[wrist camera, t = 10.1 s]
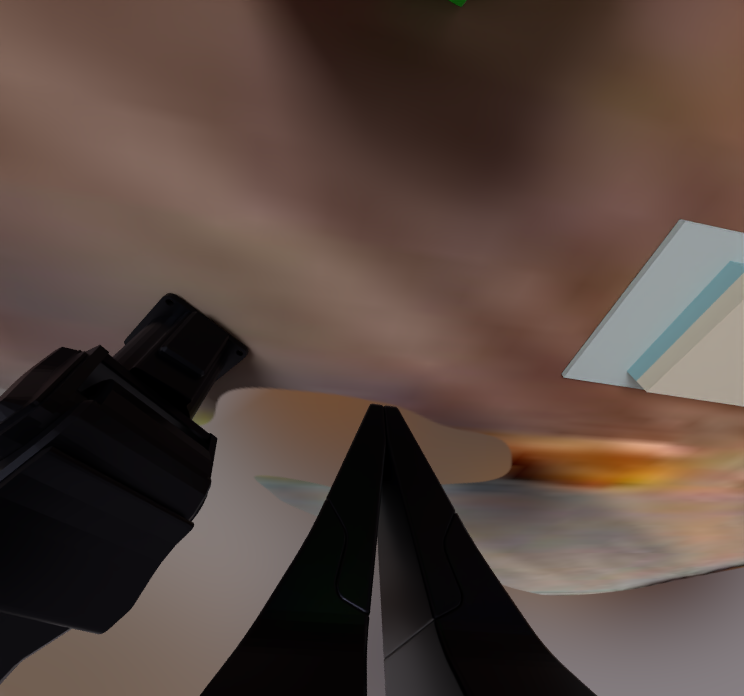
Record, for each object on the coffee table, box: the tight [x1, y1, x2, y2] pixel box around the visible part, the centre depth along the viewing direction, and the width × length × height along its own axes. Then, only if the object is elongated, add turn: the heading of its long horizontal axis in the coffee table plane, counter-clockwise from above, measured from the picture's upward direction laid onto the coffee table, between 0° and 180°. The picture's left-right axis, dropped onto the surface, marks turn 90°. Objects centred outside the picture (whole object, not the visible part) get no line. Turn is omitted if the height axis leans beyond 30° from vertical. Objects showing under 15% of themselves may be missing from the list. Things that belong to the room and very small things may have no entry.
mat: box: [562, 219, 744, 389], centre depth 21 cm, size 17×12×1 cm
